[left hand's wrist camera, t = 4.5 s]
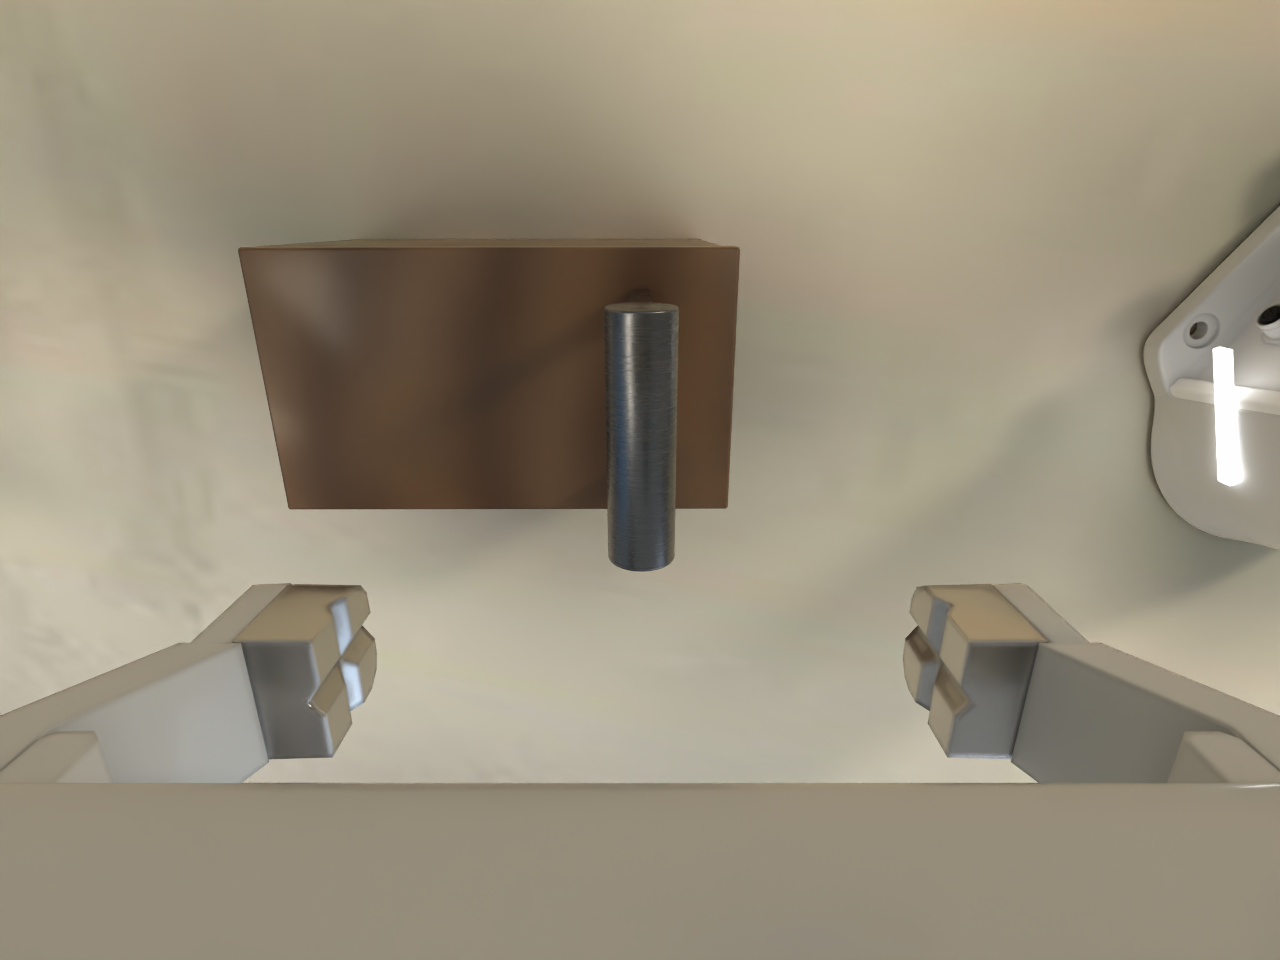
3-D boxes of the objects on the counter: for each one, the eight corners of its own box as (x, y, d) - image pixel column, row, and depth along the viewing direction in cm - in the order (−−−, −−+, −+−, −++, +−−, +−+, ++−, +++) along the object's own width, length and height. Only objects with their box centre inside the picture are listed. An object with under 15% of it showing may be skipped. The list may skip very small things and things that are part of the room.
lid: (735, 245, 24) (783, 258, 16) (724, 498, 28) (759, 609, 20) (254, 246, 24) (66, 259, 16) (301, 499, 28) (165, 611, 20)
